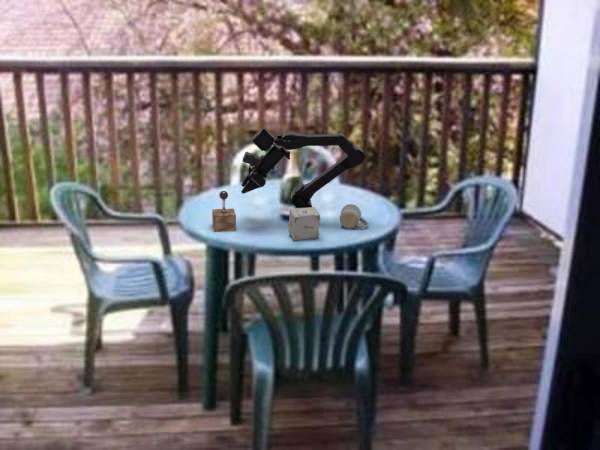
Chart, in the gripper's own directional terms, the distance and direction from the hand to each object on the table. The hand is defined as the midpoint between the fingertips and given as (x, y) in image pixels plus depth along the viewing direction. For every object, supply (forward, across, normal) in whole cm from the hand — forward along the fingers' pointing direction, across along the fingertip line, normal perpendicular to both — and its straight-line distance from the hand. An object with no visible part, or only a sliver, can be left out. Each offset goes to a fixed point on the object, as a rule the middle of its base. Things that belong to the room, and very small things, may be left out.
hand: (242, 189), depth 278 cm
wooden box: (+15, +3, +4) cm, 16 cm away
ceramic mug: (-18, +2, +40) cm, 44 cm away
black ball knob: (+11, +3, +1) cm, 12 cm away
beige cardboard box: (-5, +15, +26) cm, 30 cm away
